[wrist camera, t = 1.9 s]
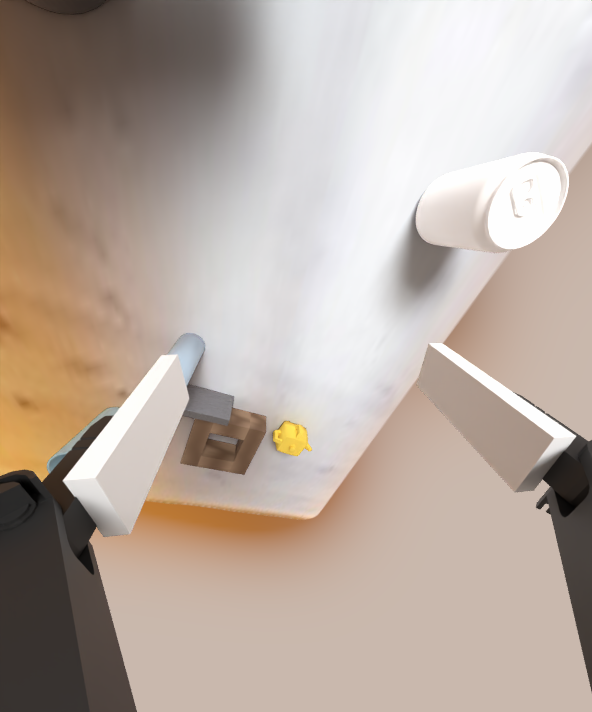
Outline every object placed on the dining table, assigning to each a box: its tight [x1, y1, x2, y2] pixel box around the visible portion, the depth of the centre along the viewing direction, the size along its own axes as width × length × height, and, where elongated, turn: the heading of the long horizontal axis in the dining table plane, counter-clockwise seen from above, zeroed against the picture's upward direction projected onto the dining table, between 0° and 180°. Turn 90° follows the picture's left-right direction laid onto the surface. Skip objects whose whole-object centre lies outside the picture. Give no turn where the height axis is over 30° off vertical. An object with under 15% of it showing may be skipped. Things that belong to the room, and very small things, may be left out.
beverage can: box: [416, 152, 569, 253], centre depth 27 cm, size 8×8×12 cm
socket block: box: [181, 408, 266, 475], centre depth 45 cm, size 12×12×4 cm
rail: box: [182, 384, 234, 426], centre depth 39 cm, size 14×1×6 cm, turn 66°
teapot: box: [273, 421, 312, 456], centre depth 46 cm, size 8×6×5 cm
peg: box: [167, 333, 205, 387], centre depth 31 cm, size 4×4×14 cm
